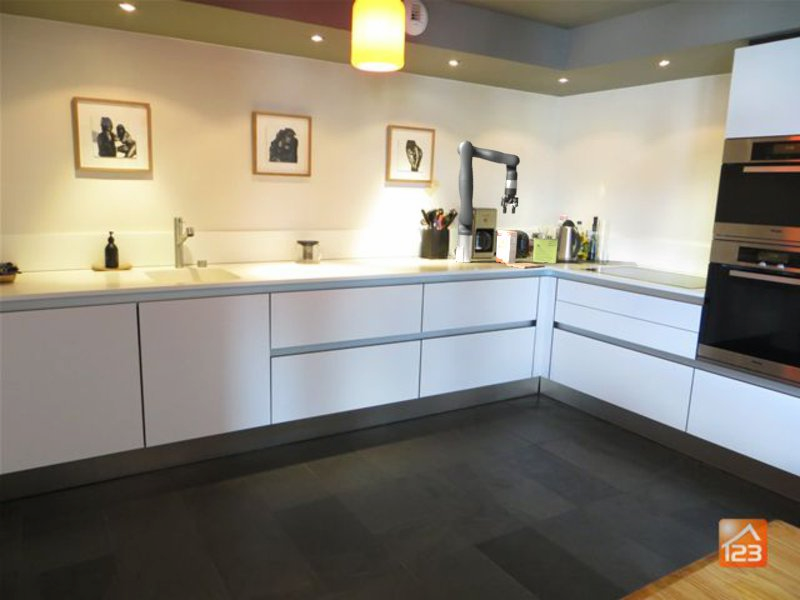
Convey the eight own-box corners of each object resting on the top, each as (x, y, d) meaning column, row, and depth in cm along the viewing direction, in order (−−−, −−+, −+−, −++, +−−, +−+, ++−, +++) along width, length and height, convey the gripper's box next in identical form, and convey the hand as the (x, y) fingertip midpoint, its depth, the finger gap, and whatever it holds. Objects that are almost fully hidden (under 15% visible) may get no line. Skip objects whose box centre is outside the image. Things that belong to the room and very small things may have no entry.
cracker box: (495, 262, 380) (497, 230, 376) (502, 261, 382) (505, 230, 379) (507, 264, 367) (510, 231, 364) (515, 264, 370) (517, 231, 366)
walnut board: (524, 268, 350) (524, 266, 350) (506, 265, 360) (506, 263, 360) (544, 266, 363) (544, 265, 363) (526, 264, 373) (526, 262, 373)
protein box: (555, 263, 386) (558, 240, 383) (532, 261, 391) (534, 238, 388) (556, 261, 396) (558, 239, 393) (533, 260, 400) (535, 237, 398)
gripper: (513, 188, 374) (511, 213, 377) (499, 187, 364) (497, 213, 367) (522, 188, 368) (520, 214, 371) (508, 187, 359) (506, 213, 362)
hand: (508, 213), depth 369 cm, fingers open, 8 cm apart
